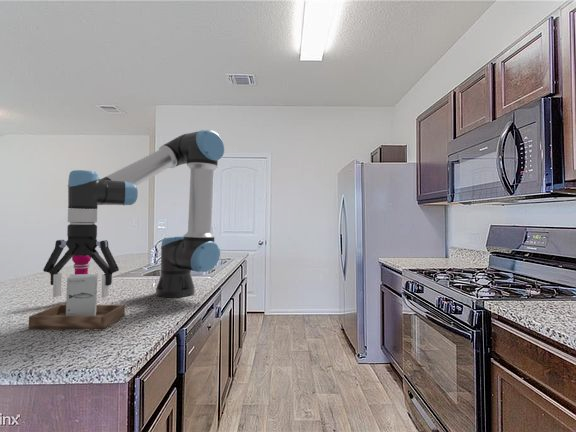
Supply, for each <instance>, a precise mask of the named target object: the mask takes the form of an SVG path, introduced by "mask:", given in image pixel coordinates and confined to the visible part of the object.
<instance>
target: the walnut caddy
mask: <svg viewBox="0 0 576 432" xmlns="http://www.w3.org/2000/svg"><path fill="white" fill-rule="evenodd" d="M125 316H126V305H125V304H97V306H96V316H66V303H65V304H60V303H59V304H56V305H54V306H51V307H49V308H46V309H45V310H42V311H40V312H37V313H35V314H32V315H29V316H28V330H31V331H32V330H33V331H34V330H38V331H39V330H41V331H42V330H45V331H46V330H50V331H51V330H52V329H53V330H52V331H55V330H56V331H59V330H61V331H62V330H64V329H65V330H66V329H90V330H89V331H96V330H95V329H105V330H107V329H108V328H110V327H111V326H112V325H113V323H114V324H115V323H117V322H118V321H120V320H122V319H123V318H124V317H125ZM110 325H111V326H110ZM107 327H108V328H107ZM54 329H55V330H54ZM91 329H92V330H91ZM65 330H64V331H65Z"/></svg>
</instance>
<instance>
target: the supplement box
mask: <svg viewBox="0 0 576 432" xmlns="http://www.w3.org/2000/svg"><path fill="white" fill-rule="evenodd" d="M98 276H99V274H98V273H91V274H90V273H88V274H77V275H75V274H70V275H69V276H68V277H67V279H66V297H65V298H66V299H65V302H66V303H65V304H66V316H96V306H97V305H98V303H97V302H98V301H97V300H98V279H99V277H98Z"/></svg>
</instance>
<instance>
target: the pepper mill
mask: <svg viewBox="0 0 576 432" xmlns="http://www.w3.org/2000/svg"><path fill="white" fill-rule="evenodd" d="M91 260H92V258H91V257H90V256H89V255H88V256H82V255H79V256H75V255H74V256H73V257H72V258H71V261H72V262H73V263H74V264H73V269H74V275H77V274H89V268H90V263H89V262H90V261H91Z"/></svg>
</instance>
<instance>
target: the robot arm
mask: <svg viewBox="0 0 576 432" xmlns="http://www.w3.org/2000/svg"><path fill="white" fill-rule="evenodd" d="M224 154H225V144H224V141H223V139H222V138H221V137H220V134H218V133H217V132H216V131H214V130H211V129H204V130H203V129H201V130H199V131H194V132H189V133H183V134H181V135H179V136H177V137H175V138H173V139H171V140H169V141H168V142H166V143H165V144H162V145H161V146H160V147H158V150H156V151H154V152H153V153H152V152H151V153H150V154H148V155H146V156H144V157H143V158H140V159H139V160H136V161H134V162H132V163H130V164H128V165H127V166H124V167H122V168H121V169H118V170H116V171H114V172H112V173H110V174H108V175H107V176H104V177H103V178H100V177H99V174H98V172H97V171H92V170H85V169H84V170H83V169H82V170H81V169H80V170H79V169H76V170H72V171H70V172H69V174H68V183H67V193H68V198H67V202H68V203H67V204H68V206H67V208H68V209H67V223H69V224H68V225H67V229H66V230H67V231H66V235H67V240H64V239H57V240H56V241H55V245H54V246H55V247H54V249H53V251H52V252H51V254H50V256H49V257H48V260H47V262H46V263H45V266H44V267H43V270H42V271H43V272H44V273H49V276H50V285H51V286H52V298H57V297H60V296H62V272H60V271H61V270H62V269H63V268H64V267H65V266H66V265H67V263H68V262H69V261H70V260H72V257H73V256H74V255H75V256H79V255H82V256H88V255H89V256H90V257H91V260H93V261H94V262H95V264H96V265H97V266H98V267H99V269H100V270H101V271H102V272H103V273H104V274H102V275H101V298H106V297H109V288H110V287H109V286H111V285H112V283H113V282H112V280H113V279H112V278H113V277H112V276H113V274H114V273H116V272H119V270H120V268H119V266H118V264H117V262H116V260H115V258H114V256H113V253H112V251H111V250H110V247H109V241H108V240H107V239H106V240H101V241H100V240H99V241H98V240H97V237H98V225H97V224H96V223H98V206H114V205H115V206H132V205H134V204H135V203H136V202H137V200H138V194H139V192H138V187H137V186H138V185H140V184H141V183H143V182H145V181H147V180H149V179H151V178H153V177H154V176H157V175H159V174H160V173H162V172H164V171H165V170H167V169H175V168H176V167H179V166H181V165H185V164H186V166H187V167H188V168H189V169H190V170H189V171H190V180H189V181H190V182H189V198H188V199H189V200H188V201H189V202H188V219H187V221H188V222H187V223H188V225H187V232H186V233H185V234H183V236H171V237H170V236H169V237H165V238H163V239H162V240H161V245H160V246H161V247H160V249H161V251H160V253H161V255H160V256H161V257H160V259H161V260H160V277H159V279H158V282H157V285H156V288H155V296H157V297H162V298H180V297H188V296H189V297H190V296H192V295H195V293H196V292H195V291H196V289H195V284H194V281H193V277H192V274H191V273H192V272H191V271H193V272H196V273H208V272H209V271H212V270H213V269H214V268H215V267H216V266H217V265H218V263H219V261H220V258H221V249H220V247H219V245H218V244H217V243H216V242H215V235H214V234H213V233H212V230H211V229H212V213H213V212H212V210H213V209H212V208H213V188H214V187H213V186H214V185H213V184H214V171H215V170H216V169H217V168H218V161H219V160H221V159H222V157H223V156H224ZM66 247H67V250H66V252H65V253H64V255H63V256H62V257H61V255H62V252H63V251H64V248H66ZM97 247H98V248H99V249H100V251H101V253H102V256H103V257H104V259H105V260H104V259H103V257H102V256H101V255H100V254H99V252H98V250H97ZM60 257H61V258H60ZM59 258H60V260H59Z"/></svg>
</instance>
